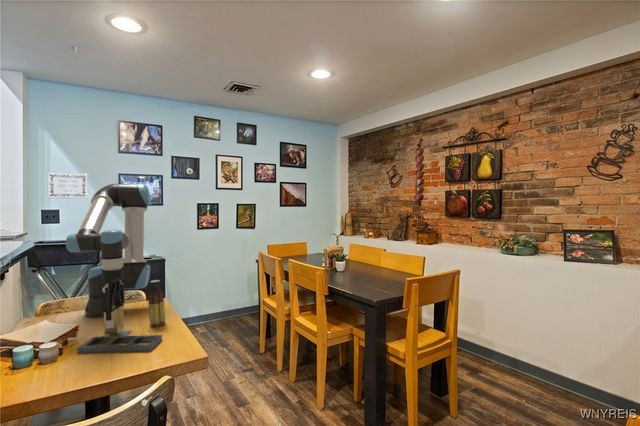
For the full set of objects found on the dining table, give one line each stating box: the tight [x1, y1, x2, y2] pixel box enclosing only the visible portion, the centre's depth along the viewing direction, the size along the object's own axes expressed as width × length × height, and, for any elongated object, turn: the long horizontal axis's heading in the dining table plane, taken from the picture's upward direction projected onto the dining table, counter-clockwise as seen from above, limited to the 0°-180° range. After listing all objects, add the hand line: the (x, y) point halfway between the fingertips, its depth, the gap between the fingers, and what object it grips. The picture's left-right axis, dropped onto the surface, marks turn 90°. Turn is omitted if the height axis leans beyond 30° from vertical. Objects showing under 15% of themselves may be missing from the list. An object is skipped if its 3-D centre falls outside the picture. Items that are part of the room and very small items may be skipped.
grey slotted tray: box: [76, 334, 163, 354], centre depth 128 cm, size 10×26×2 cm, turn 93°
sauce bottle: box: [148, 279, 166, 328], centre depth 150 cm, size 7×6×20 cm
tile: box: [100, 329, 132, 337], centre depth 138 cm, size 9×9×1 cm
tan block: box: [103, 305, 125, 335], centre depth 137 cm, size 5×5×10 cm
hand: (114, 324), depth 137 cm, fingers closed on tan block, 5 cm apart
